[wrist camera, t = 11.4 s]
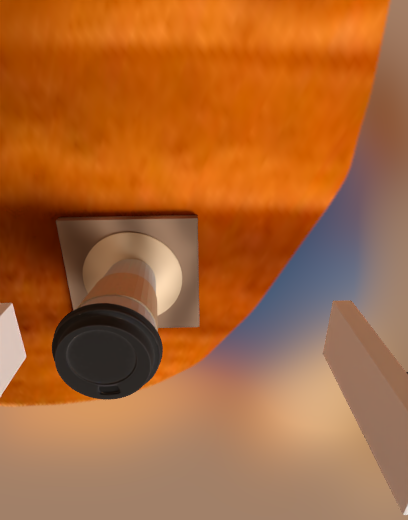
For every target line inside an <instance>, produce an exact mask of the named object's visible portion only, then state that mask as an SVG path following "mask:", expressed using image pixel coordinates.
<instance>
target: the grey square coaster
mask: <svg viewBox="0 0 408 520" xmlns="http://www.w3.org/2000/svg"><path fill="white" fill-rule="evenodd" d="M56 224H57V229H58V235H59V240H60V245H61V250H62V255H63V260H64V265H65V270H66V275H67V280H68V285H69V290H70V295H71V300H72V305H73V310H75V309H77V307H78V306H79V305H80V303H81V302H82V301H83V300H84V298H85V297H86V296H87V295H88V293H89V292H90V291H91V289H92V288H93V287H94V286H95V284H96V283H97V282H98V281H99V280H100V279H102V278H103V277H104V275H105V274H106V273H107V272H108V270H109V269H110V268H111V267H112V266H113V265H114V264H115V263H117V262H118V261H121V260H125V259H137V260H140V261H143V262H145V263H147V264H148V265H149V266H150V267H151V269H152V270H153V272H154V274H155V278H156V297H157V318H158V328H175V327H199V276H198V218H197V215H172V216H113V217H59V218H58V219H57V220H56Z"/></svg>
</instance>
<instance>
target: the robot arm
mask: <svg viewBox="0 0 408 520" xmlns="http://www.w3.org/2000/svg"><path fill="white" fill-rule="evenodd" d="M323 354H324V356H325V359H326V361H327V363H328V365H329V367H330V369H331V371H332V373H333V375H334V377H335V379H336V381H337V382H338V385H339V387H340V389H341V391H342V392H343V395H344V397H345V399H346V401H347V402H348V405H349V407H350V409H351V411H352V413H353V415H354V417H355V419H356V421H357V423H358V425H359V427H360V429H361V431H362V433H363V435H364V437H365V439H366V441H367V443H368V445H369V447H370V449H371V451H372V453H373V455H374V457H375V459H376V461H377V463H378V465H379V467H380V469H381V471H382V473H383V475H384V477H385V479H386V481H387V483H388V485H389V487H390V489H391V491H392V493H393V495H394V497H395V499H396V501H397V503H398V505H399V507H400V510H401V512H402V514H403V515H408V372H406V371H405V370H404V369H403V368H402V366H401V365H400V364H399V362H398V361H397V360H396V358H395V357H394V356H393V355H392V353H391V352H390V351H389V349H388V348H387V347H386V345H385V344H384V343H383V342H382V340H381V339H380V338H379V336H378V335H377V333H376V332H375V331H374V330H373V328H372V327H371V326H370V324H369V323H368V322H367V321H366V319H365V318H364V317H363V315H362V314H361V313H360V311H359V310H358V309H357V307H356V306H355V305H354V303H353V302H352V301H333V303H332V309H331V314H330V319H329V325H328V330H327V335H326V341H325V346H324V351H323ZM25 358H26V353H25V349H24V346H23V342H22V338H21V334H20V331H19V327H18V323H17V319H16V316H15V312H14V308H13V304H12V303H0V396H1V395H2V393H3V392H4V390H5V389H6V387H7V386H8V384H9V383H10V381H11V379H12V378H13V376H14V375H15V373H16V372H17V370H18V369H19V367H20V366H21V364H22V363H23V361H24V360H25Z"/></svg>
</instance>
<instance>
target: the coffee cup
mask: <svg viewBox="0 0 408 520" xmlns="http://www.w3.org/2000/svg"><path fill="white" fill-rule="evenodd" d="M162 352H163V348H162V342H161V339H160V336H159V334H158V318H157V297H156V278H155V274H154V272H153V270H152V269H151V267H150V266H149V265H148V264H147V263H145V262H143V261H140V260H137V259H125V260H121V261H118V262H117V263H115V264H114V265H113V266H112V267H111V268H110V269H109V270H108V272H107V273H106V274H105V275H104V277H103V278H102V279H100V280H99V281H98V282H97V283H96V284H95V286H94V287H93V288H92V289H91V291H90V292H89V293H88V295H87V296H86V297H85V298H84V300H83V301H82V302H81V303H80V305H79V306H78V307H77V309H75V310H74V311H72V312H70V313H69V314H67V315H66V316H65V317H64V318H63V319H62V320H61V322H60V323H59V325H58V326H57V328H56V331H55V334H54V338H53V342H52V353H53V358H54V361H55V364H56V368H57V371H58V373H59V375H60V376H61V378H62V379H63V381H64V382H65V383H66V384H67V385H68V386H70V387H71V388H72V389H74V390H75V391H77V392H79V393H81V394H83V395H86V396H89V397H92V398H97V399H117V398H122V397H126V396H128V395H131V394H133V393H134V392H136V391H137V390H139V389H140V388H141V387H142V386H143V385H144V384H146V383H147V382H148V381H149V380H150V379H151V378H152V377H153V376H154V374H155V373H156V371H157V369H158V366H159V364H160V362H161V358H162Z"/></svg>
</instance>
